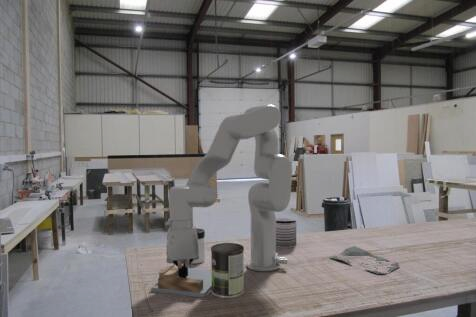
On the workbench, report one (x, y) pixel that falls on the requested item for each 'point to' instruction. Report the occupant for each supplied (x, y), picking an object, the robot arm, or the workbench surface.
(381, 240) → the workbench surface
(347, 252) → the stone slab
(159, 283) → the fixed rail
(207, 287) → the jig board
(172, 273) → the oak leg
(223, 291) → the coffee can
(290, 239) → the can
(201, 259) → the jar
